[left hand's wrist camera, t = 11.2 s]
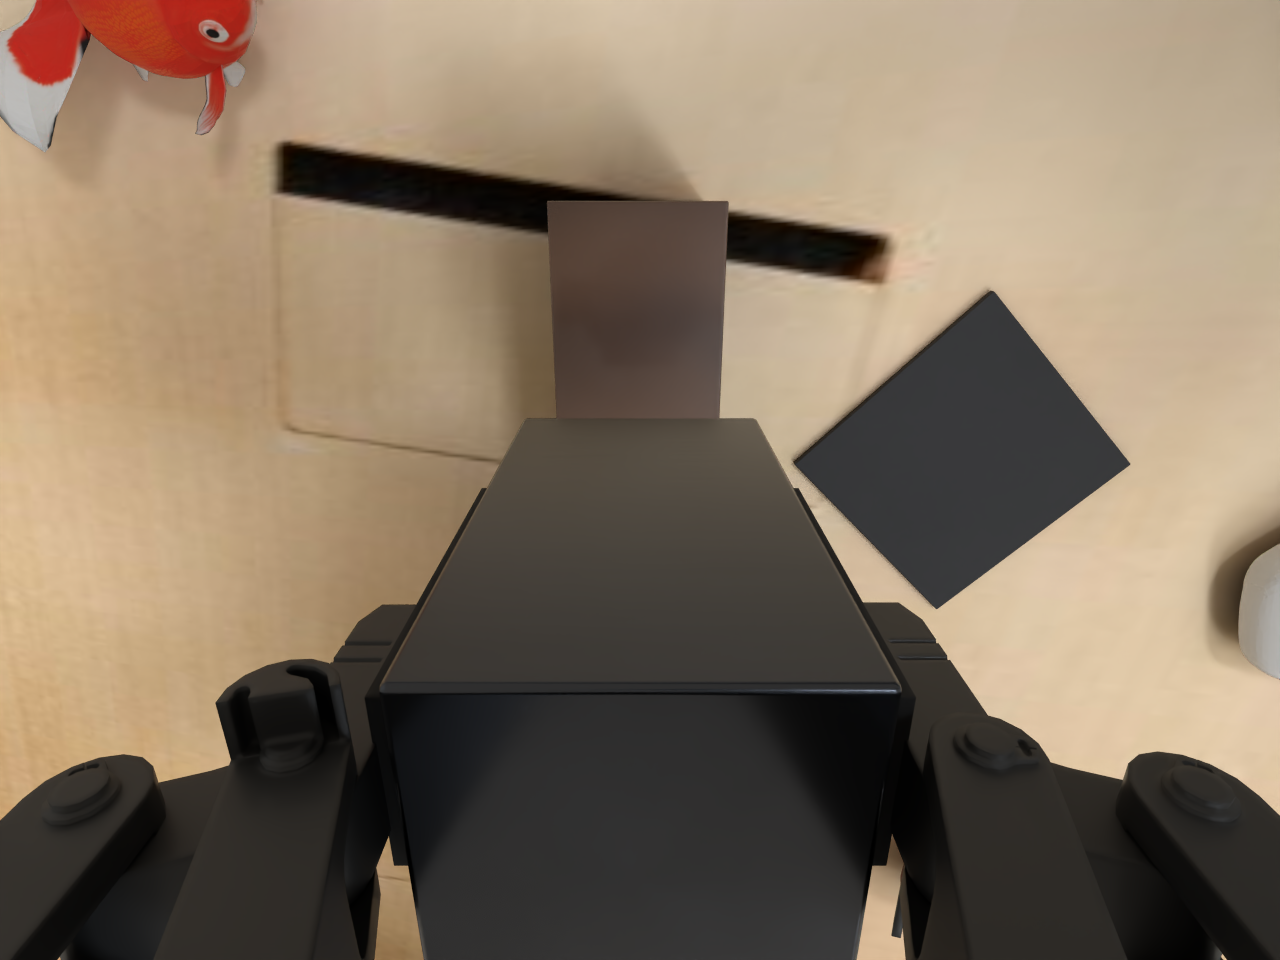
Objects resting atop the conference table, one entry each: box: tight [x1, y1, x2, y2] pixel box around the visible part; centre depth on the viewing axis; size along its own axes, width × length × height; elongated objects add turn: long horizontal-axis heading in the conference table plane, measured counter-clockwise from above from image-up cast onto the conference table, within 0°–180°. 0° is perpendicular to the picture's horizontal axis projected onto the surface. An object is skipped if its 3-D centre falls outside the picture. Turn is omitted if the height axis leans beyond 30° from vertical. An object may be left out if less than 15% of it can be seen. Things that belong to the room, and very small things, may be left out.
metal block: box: [379, 418, 902, 960], centre depth 12 cm, size 5×5×9 cm
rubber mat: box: [794, 291, 1130, 609], centre depth 41 cm, size 14×14×1 cm
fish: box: [0, 0, 257, 152], centre depth 30 cm, size 11×16×10 cm
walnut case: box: [547, 201, 729, 418], centre depth 37 cm, size 30×7×10 cm, turn 0°
